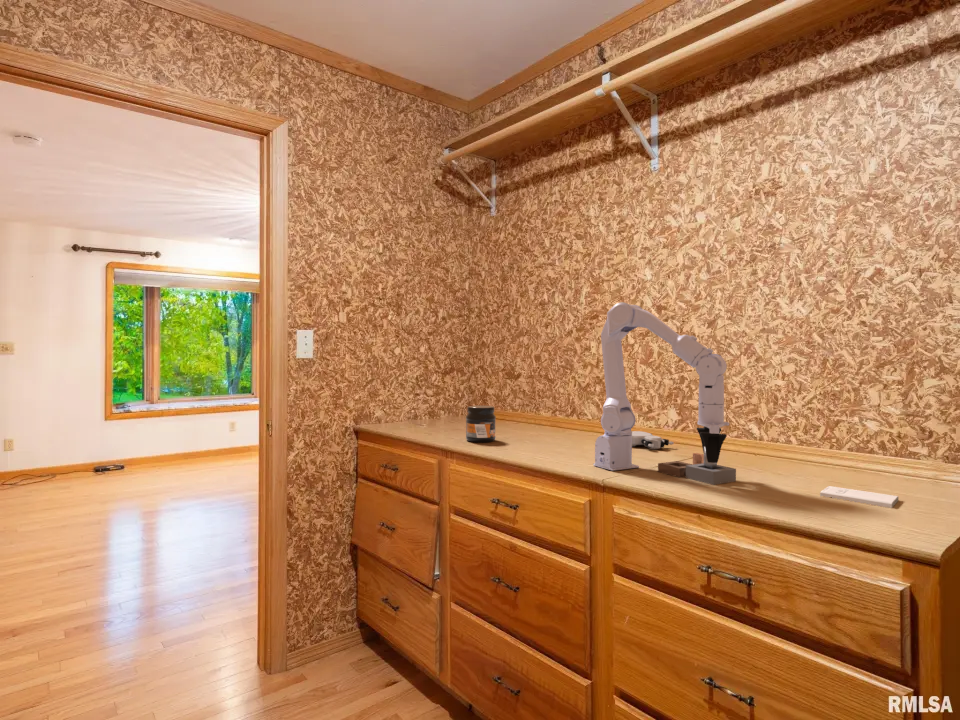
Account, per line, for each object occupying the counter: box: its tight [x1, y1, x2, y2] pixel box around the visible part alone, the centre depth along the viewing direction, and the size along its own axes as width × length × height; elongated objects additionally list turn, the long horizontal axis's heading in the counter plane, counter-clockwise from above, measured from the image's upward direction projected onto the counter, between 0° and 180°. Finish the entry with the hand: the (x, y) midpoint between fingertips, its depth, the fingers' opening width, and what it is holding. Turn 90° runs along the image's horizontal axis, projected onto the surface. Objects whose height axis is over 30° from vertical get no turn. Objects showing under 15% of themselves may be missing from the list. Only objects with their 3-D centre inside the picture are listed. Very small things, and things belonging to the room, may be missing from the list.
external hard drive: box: [819, 485, 899, 509], centre depth 113 cm, size 2×8×12 cm
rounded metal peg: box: [703, 446, 718, 470], centre depth 130 cm, size 3×3×8 cm
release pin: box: [692, 452, 704, 465], centre depth 139 cm, size 6×3×4 cm, turn 118°
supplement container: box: [465, 405, 497, 444], centre depth 187 cm, size 10×10×12 cm
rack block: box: [685, 463, 737, 486], centre depth 130 cm, size 8×8×3 cm
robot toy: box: [631, 430, 674, 450], centre depth 176 cm, size 12×4×15 cm
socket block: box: [657, 460, 693, 478], centre depth 137 cm, size 7×7×2 cm
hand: (710, 459), depth 130 cm, fingers open, 7 cm apart
